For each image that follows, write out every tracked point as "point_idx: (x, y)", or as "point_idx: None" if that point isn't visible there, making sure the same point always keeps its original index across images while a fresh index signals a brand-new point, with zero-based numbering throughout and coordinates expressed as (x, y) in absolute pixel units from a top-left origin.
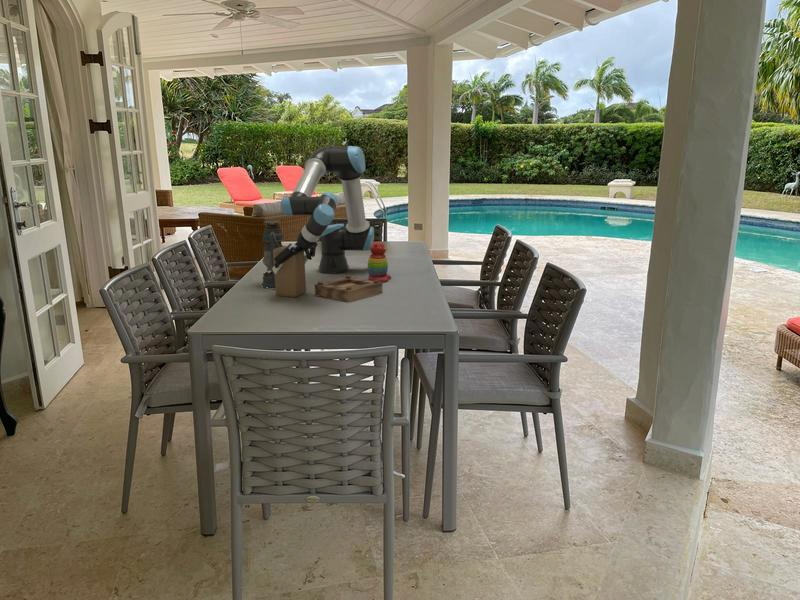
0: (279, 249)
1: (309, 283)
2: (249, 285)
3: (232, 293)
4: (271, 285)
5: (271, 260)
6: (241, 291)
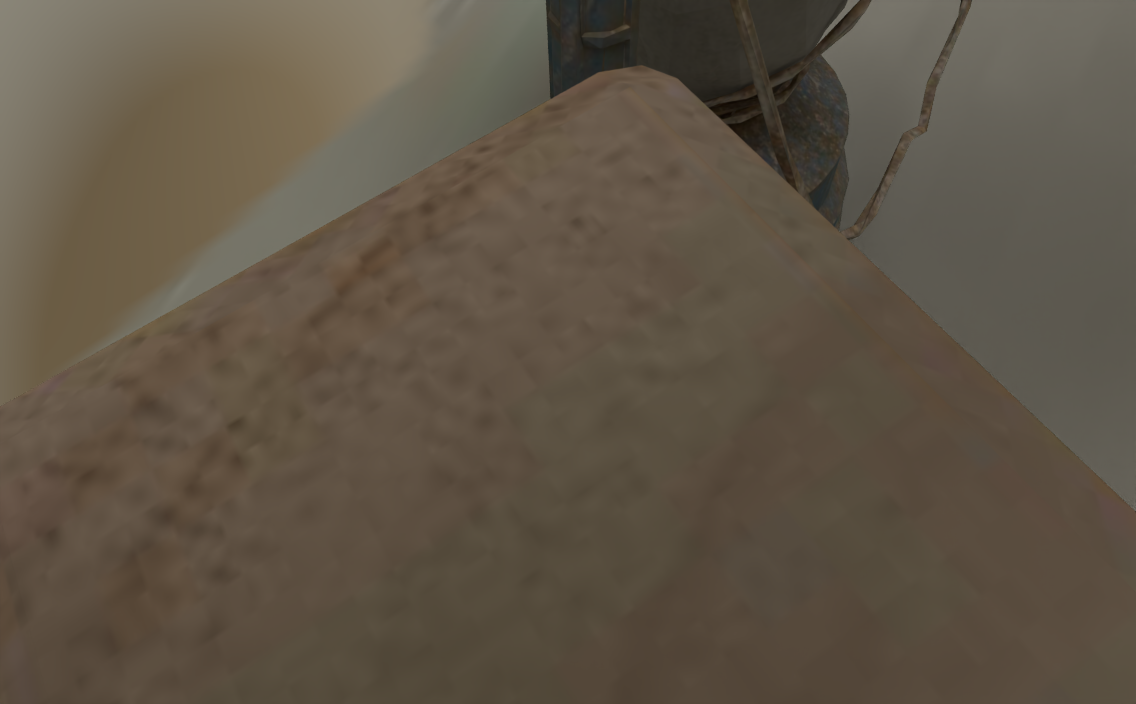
0: (7, 668)
1: (1057, 297)
2: (512, 57)
3: (235, 226)
4: None
5: (550, 67)
6: (332, 205)
